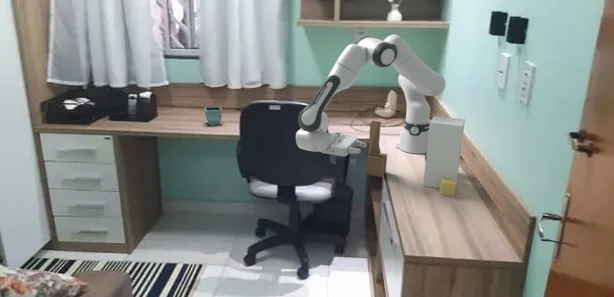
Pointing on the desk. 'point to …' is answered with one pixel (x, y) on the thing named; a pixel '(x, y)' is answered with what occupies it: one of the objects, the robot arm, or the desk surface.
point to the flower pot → (213, 115)
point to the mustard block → (447, 187)
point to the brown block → (375, 153)
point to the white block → (443, 150)
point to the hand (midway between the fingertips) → (363, 148)
